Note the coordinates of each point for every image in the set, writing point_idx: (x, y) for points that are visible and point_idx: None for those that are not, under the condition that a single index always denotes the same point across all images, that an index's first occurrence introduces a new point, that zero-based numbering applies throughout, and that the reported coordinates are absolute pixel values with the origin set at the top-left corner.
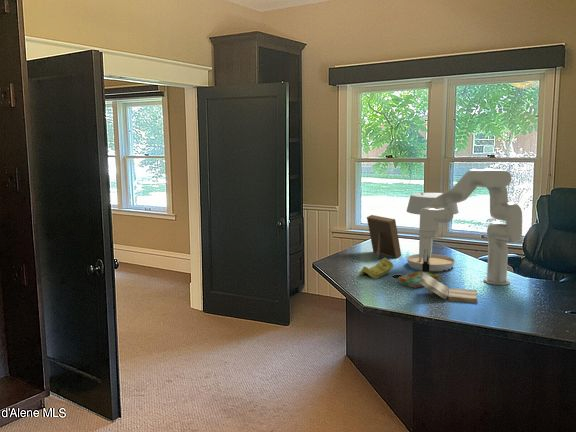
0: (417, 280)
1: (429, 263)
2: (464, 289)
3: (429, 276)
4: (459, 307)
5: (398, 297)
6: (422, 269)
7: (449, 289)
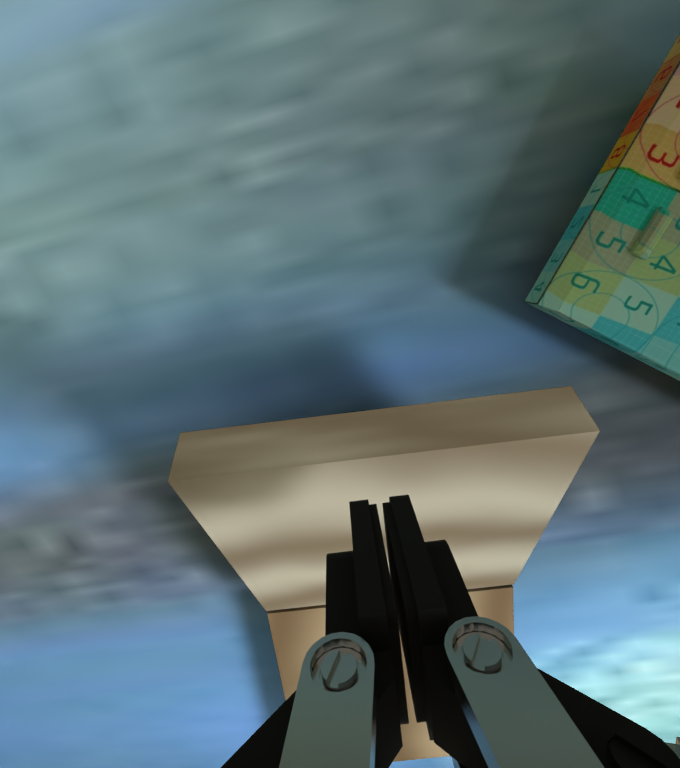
0: (595, 305)
1: (430, 739)
2: None
3: (537, 489)
4: (156, 666)
5: (155, 199)
6: (351, 522)
7: (469, 594)
